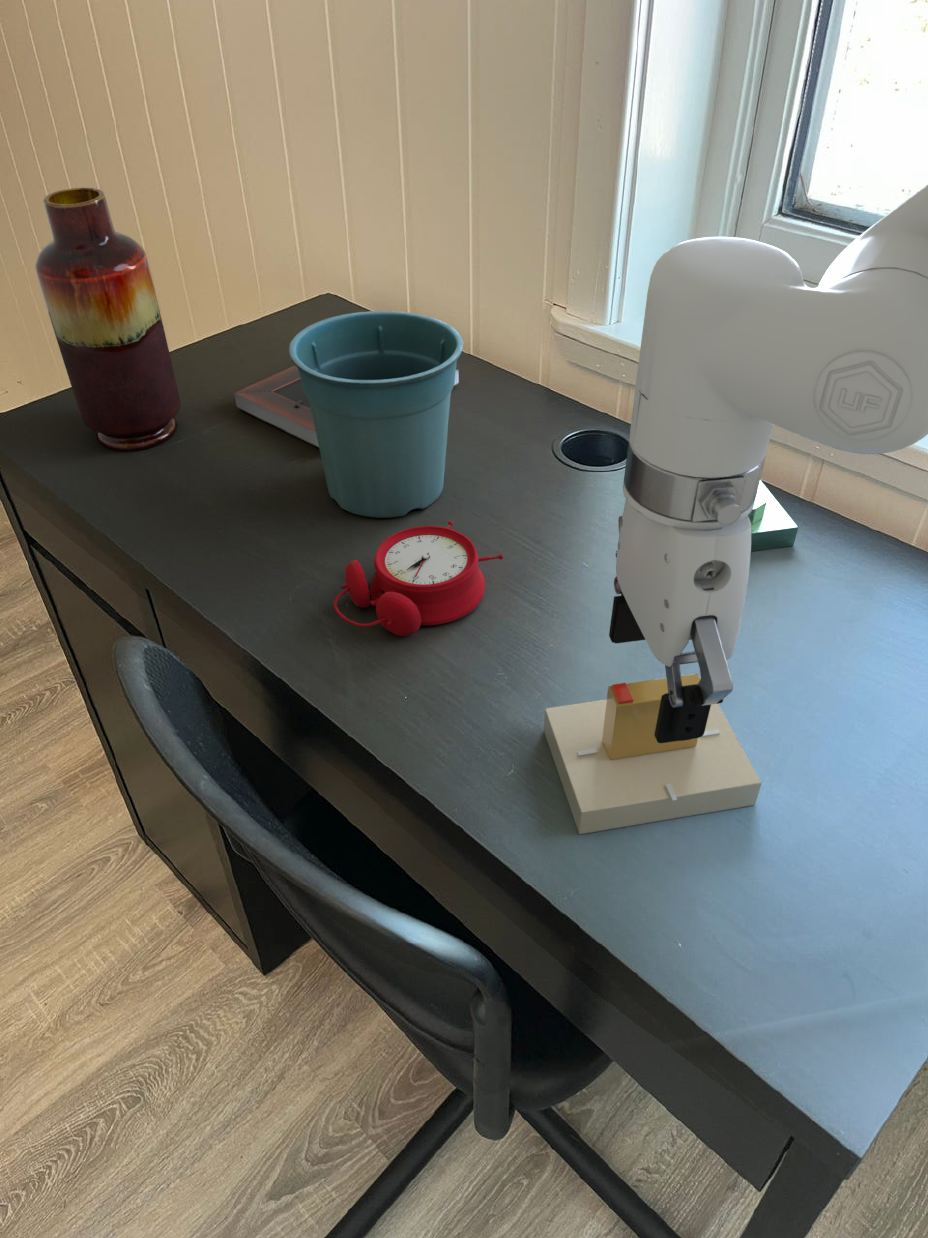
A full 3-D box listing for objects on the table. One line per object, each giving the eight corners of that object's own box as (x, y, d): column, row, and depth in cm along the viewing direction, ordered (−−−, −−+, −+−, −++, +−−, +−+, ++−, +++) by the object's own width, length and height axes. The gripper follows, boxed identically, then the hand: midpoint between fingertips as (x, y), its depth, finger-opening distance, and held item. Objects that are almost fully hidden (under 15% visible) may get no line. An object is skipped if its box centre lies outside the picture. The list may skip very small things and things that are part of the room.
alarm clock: (518, 555, 84) (385, 596, 75) (506, 614, 87) (377, 660, 78) (443, 507, 90) (311, 539, 81) (434, 564, 93) (306, 601, 84)
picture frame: (366, 350, 126) (237, 410, 113) (365, 332, 124) (233, 390, 112) (459, 386, 117) (330, 455, 105) (458, 367, 116) (327, 435, 103)
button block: (754, 495, 98) (762, 462, 95) (793, 545, 91) (802, 511, 88) (662, 507, 96) (667, 473, 94) (694, 558, 89) (701, 523, 87)
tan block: (686, 726, 70) (697, 670, 66) (696, 746, 68) (708, 690, 64) (601, 739, 69) (608, 683, 65) (609, 760, 67) (617, 703, 64)
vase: (168, 400, 116) (113, 172, 99) (199, 438, 108) (146, 200, 91) (77, 425, 111) (3, 191, 94) (103, 466, 104) (28, 221, 87)
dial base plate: (701, 703, 75) (706, 679, 73) (757, 809, 67) (764, 785, 65) (542, 727, 73) (543, 703, 72) (580, 839, 65) (583, 815, 64)
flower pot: (395, 432, 109) (385, 295, 98) (497, 486, 100) (498, 341, 89) (278, 488, 100) (253, 344, 90) (378, 553, 91) (364, 400, 81)
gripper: (824, 553, 48) (756, 773, 59) (698, 394, 61) (662, 599, 72) (683, 571, 47) (641, 791, 58) (585, 405, 60) (566, 612, 71)
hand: (653, 685), depth 65 cm, fingers open, 9 cm apart
